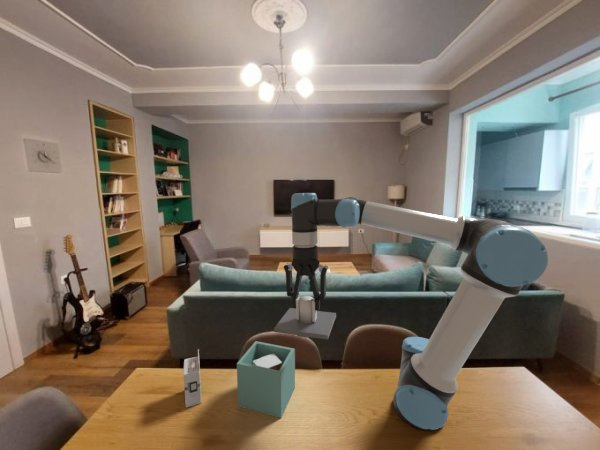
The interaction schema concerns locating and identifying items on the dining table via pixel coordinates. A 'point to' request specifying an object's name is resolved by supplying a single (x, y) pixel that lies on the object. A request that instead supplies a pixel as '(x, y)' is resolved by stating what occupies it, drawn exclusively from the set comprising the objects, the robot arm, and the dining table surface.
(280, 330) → the lid
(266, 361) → the small box
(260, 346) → the box
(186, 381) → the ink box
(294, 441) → the dining table surface
